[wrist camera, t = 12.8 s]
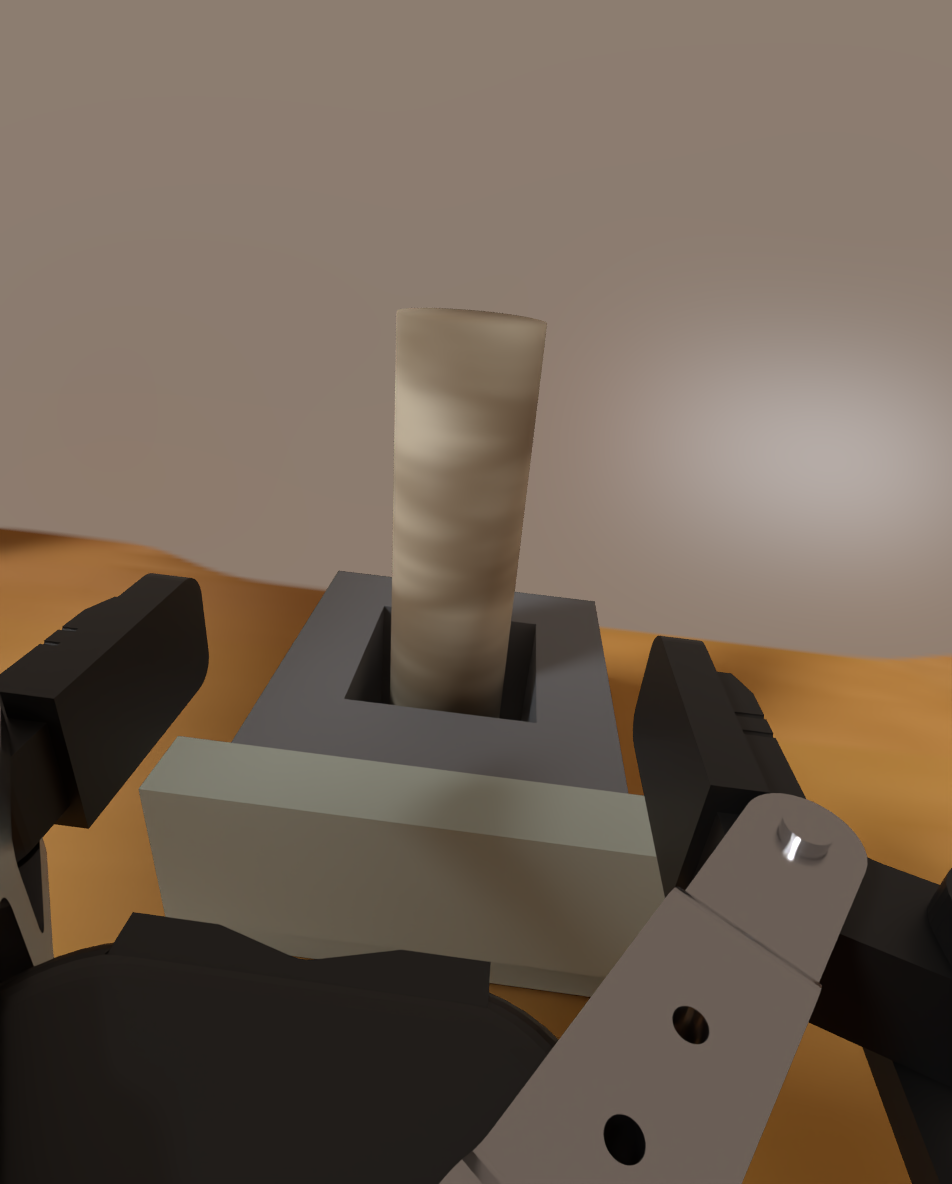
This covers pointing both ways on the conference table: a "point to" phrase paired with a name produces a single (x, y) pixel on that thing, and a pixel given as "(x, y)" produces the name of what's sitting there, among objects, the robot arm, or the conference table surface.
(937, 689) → the conference table surface
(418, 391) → the dowel
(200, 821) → the dowel dock
